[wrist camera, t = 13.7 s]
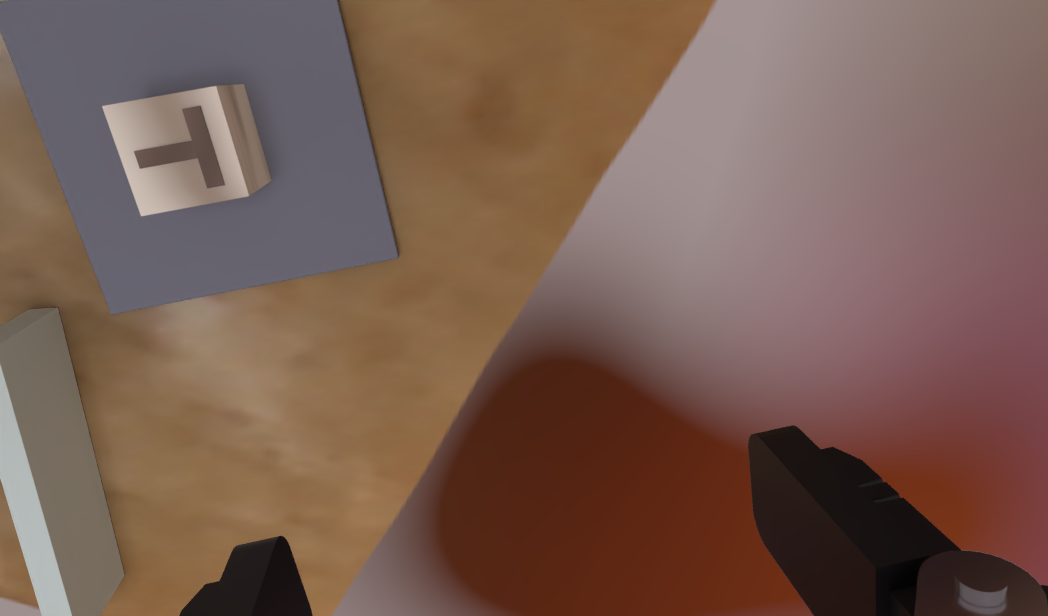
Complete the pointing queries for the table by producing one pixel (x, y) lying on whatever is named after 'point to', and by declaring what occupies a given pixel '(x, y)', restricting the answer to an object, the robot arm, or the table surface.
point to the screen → (53, 471)
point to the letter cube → (189, 148)
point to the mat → (188, 64)
